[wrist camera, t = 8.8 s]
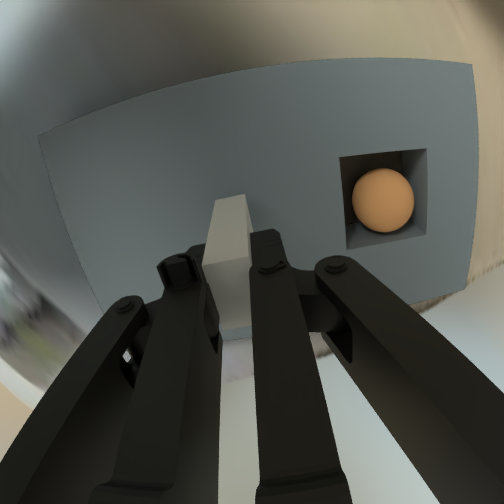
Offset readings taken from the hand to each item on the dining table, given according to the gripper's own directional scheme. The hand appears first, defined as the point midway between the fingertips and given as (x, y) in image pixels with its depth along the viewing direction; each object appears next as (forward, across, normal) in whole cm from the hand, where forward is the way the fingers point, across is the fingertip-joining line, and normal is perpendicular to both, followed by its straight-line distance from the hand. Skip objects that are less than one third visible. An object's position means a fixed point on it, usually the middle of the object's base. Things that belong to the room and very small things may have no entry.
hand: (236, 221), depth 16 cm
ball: (+2, +9, -1) cm, 9 cm away
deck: (+5, +3, -1) cm, 5 cm away
